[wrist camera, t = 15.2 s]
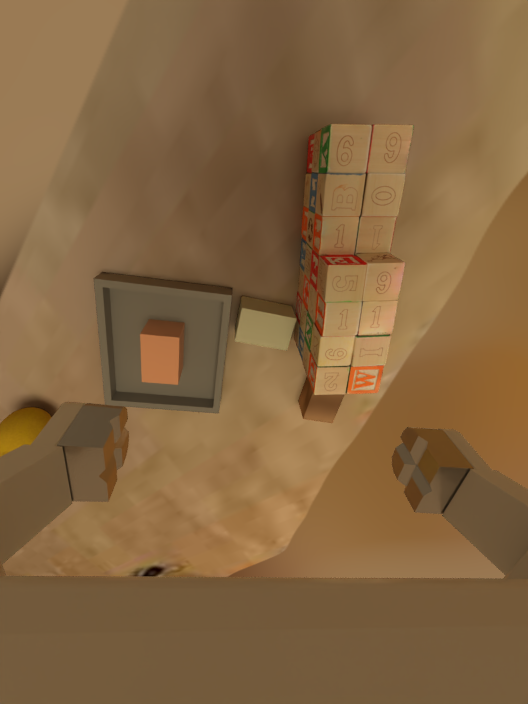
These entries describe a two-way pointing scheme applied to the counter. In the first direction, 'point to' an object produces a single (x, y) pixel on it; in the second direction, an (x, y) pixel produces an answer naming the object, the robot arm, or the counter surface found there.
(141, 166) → the counter surface
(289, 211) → the counter surface
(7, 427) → the lemon
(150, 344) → the terracotta brick
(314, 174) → the stack of blocks
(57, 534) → the counter surface
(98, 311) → the charcoal tray
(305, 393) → the walnut brick
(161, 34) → the counter surface
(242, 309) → the sage brick
